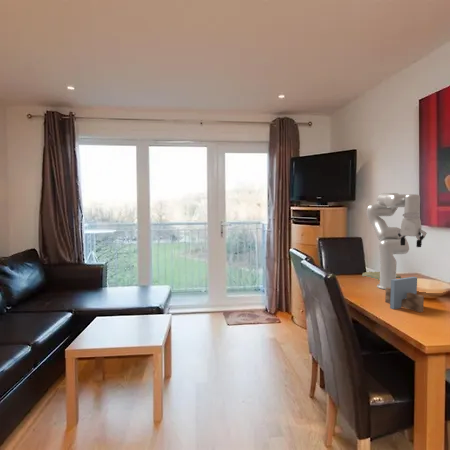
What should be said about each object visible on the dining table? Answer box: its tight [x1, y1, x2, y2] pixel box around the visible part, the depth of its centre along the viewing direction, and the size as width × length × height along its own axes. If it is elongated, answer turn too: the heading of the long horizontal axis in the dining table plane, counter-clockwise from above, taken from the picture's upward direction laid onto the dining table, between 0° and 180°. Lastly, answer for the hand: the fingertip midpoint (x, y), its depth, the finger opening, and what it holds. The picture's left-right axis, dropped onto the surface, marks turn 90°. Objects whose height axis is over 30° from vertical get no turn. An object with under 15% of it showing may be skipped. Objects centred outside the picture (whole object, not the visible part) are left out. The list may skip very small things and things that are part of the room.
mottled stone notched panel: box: [384, 287, 425, 313], centre depth 178 cm, size 20×2×8 cm, turn 27°
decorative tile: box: [361, 271, 402, 281], centre depth 253 cm, size 19×20×4 cm
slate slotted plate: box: [389, 276, 418, 310], centre depth 178 cm, size 18×2×15 cm, turn 116°
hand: (410, 246), depth 192 cm, fingers open, 9 cm apart
